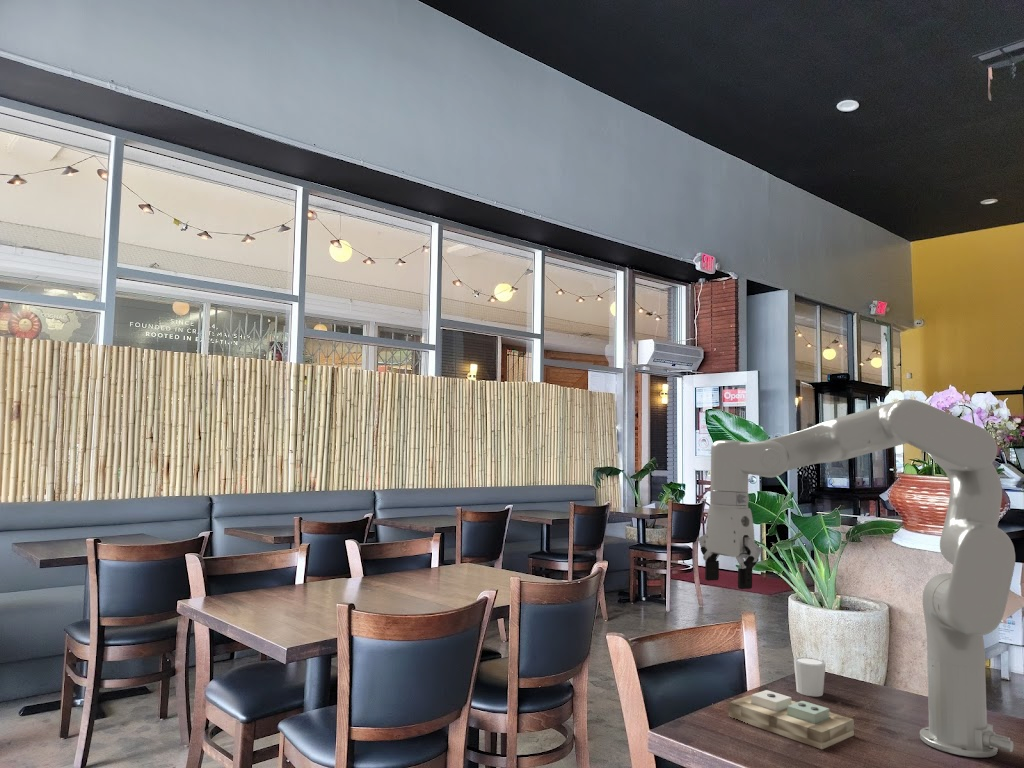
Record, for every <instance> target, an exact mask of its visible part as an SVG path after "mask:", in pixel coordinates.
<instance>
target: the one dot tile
mask: <svg viewBox="0 0 1024 768" xmlns="http://www.w3.org/2000/svg"><path fill="white" fill-rule="evenodd" d="M750 695H751V704H753V705H756V706H759V707H763V708H766V709H769V710H772V711H775V712H778V711H781V710H784V709H787V706H788V705H791V701H792V697H791V696H787V695H785V694H781V693H778V692H776V691H775V692H774V691H772V690H768V689H765V690H762V691H759V692H755V693H753V694H750Z"/></svg>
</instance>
